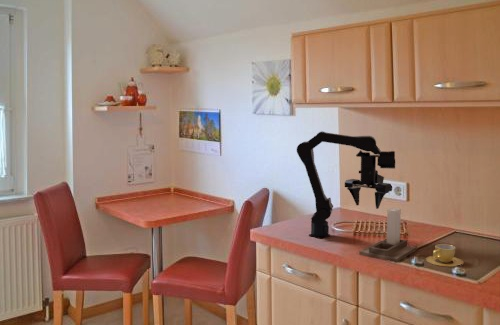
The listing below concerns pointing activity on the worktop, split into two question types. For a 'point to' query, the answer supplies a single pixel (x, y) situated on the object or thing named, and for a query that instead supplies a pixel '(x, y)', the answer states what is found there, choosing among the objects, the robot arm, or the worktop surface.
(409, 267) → the worktop surface
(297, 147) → the robot arm
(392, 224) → the clay block
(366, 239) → the worktop surface
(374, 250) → the rack
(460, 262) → the cup
